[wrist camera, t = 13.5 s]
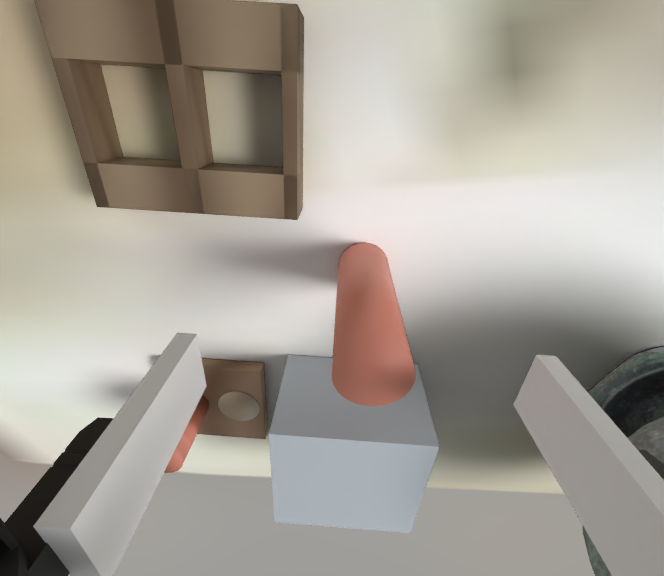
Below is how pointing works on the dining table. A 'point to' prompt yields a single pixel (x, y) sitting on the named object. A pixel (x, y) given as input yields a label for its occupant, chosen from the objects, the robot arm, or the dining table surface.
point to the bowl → (633, 413)
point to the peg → (369, 331)
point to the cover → (347, 453)
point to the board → (226, 405)
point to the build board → (179, 97)
